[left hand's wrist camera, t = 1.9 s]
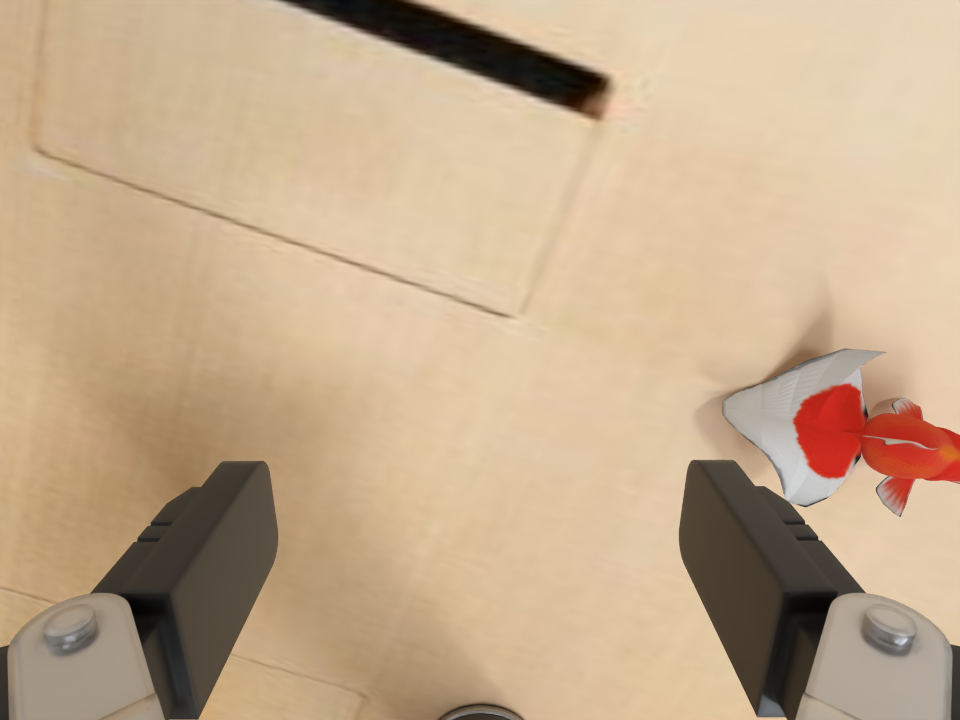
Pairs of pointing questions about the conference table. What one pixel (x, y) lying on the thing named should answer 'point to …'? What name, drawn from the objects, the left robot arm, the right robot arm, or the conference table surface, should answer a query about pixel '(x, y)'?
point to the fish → (839, 432)
